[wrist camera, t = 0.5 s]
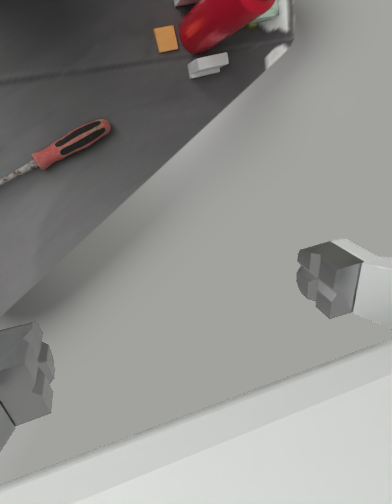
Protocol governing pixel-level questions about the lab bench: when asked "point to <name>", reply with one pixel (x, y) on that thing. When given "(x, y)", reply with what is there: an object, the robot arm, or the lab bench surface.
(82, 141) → the screwdriver
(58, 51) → the lab bench surface
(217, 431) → the robot arm
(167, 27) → the assorted small pieces
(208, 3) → the bottle
